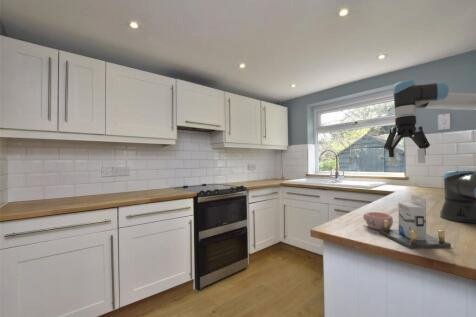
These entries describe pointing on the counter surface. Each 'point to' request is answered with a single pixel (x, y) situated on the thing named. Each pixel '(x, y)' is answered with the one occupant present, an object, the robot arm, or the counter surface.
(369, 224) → the pink bowl
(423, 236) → the ink box
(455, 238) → the counter surface
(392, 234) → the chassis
